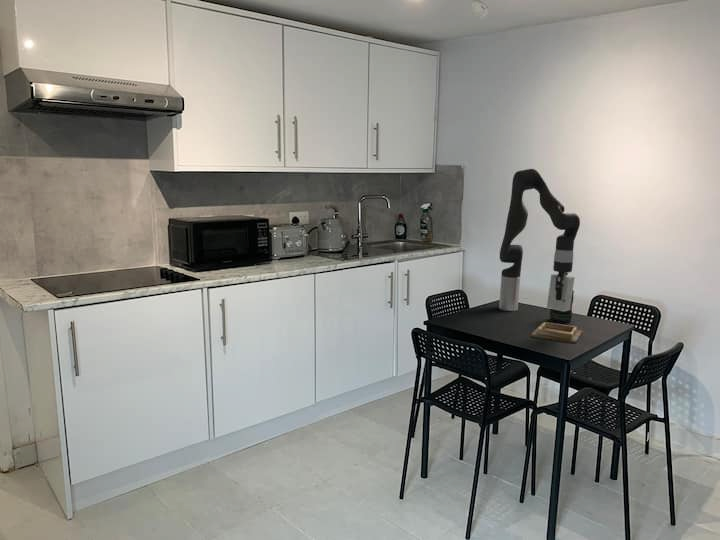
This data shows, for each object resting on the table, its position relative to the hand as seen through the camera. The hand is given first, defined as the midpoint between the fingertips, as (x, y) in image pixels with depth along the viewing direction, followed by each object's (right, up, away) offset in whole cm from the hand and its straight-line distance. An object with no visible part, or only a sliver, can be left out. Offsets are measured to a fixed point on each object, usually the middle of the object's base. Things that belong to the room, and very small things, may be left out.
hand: (560, 298), depth 238 cm
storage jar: (+9, -12, +26) cm, 30 cm away
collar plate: (0, -16, +3) cm, 16 cm away
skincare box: (0, -5, +1) cm, 5 cm away
